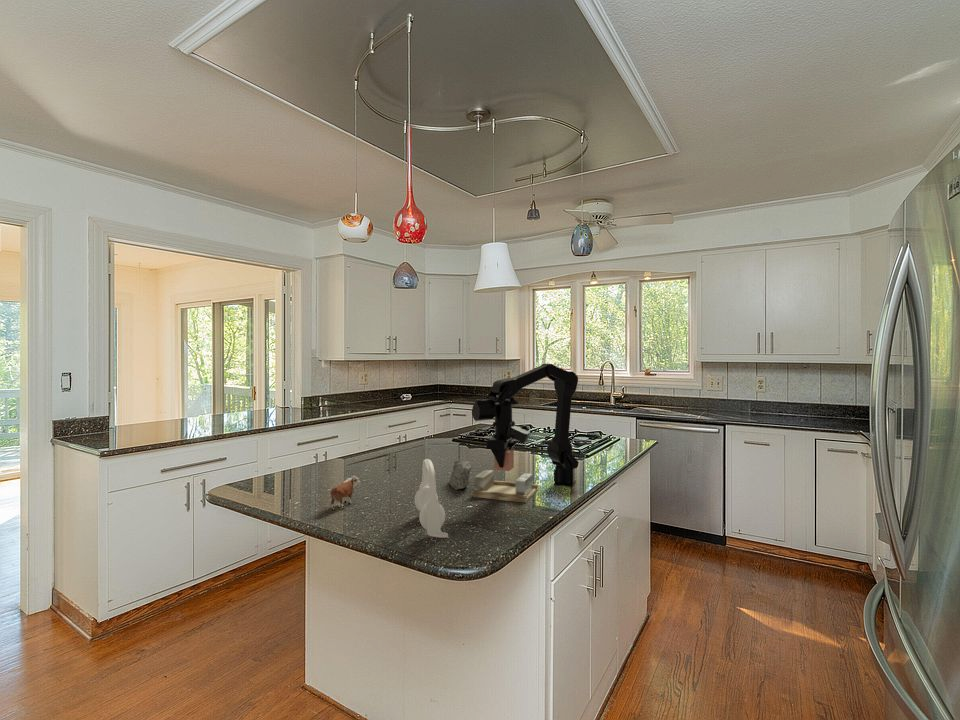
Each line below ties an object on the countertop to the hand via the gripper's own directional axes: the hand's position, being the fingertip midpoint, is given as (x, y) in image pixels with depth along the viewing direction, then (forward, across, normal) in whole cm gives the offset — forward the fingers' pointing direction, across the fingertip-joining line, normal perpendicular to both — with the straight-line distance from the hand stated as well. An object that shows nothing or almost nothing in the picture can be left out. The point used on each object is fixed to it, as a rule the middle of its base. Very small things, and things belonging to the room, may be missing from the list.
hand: (504, 465), depth 165 cm
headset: (+9, -35, +10) cm, 38 cm away
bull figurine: (+9, -28, +43) cm, 52 cm away
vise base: (+9, 0, 0) cm, 9 cm away
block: (+1, 0, 0) cm, 1 cm away
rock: (+10, +4, +18) cm, 20 cm away
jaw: (+8, 0, -7) cm, 11 cm away
